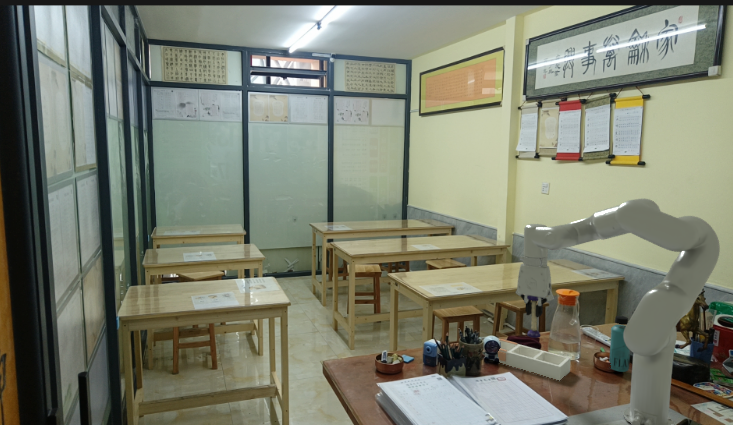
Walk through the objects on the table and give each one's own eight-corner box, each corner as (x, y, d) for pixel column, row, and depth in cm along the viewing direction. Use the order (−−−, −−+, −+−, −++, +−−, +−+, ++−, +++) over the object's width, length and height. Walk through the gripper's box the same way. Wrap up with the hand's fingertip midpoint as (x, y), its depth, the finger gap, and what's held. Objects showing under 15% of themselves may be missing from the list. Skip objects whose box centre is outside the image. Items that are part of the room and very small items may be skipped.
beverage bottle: (610, 374, 166) (613, 319, 164) (606, 367, 172) (609, 313, 170) (631, 377, 164) (634, 320, 162) (626, 369, 170) (630, 314, 168)
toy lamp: (530, 338, 158) (532, 289, 156) (522, 333, 162) (524, 285, 160) (543, 337, 159) (545, 288, 157) (534, 332, 164) (536, 285, 162)
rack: (559, 381, 160) (559, 366, 160) (483, 359, 179) (483, 345, 178) (569, 371, 168) (570, 357, 168) (496, 350, 187) (496, 337, 186)
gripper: (507, 260, 161) (506, 313, 162) (555, 266, 150) (553, 323, 152) (516, 256, 166) (515, 308, 168) (564, 262, 156) (562, 317, 157)
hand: (533, 314), depth 160 cm, fingers closed on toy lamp, 2 cm apart
